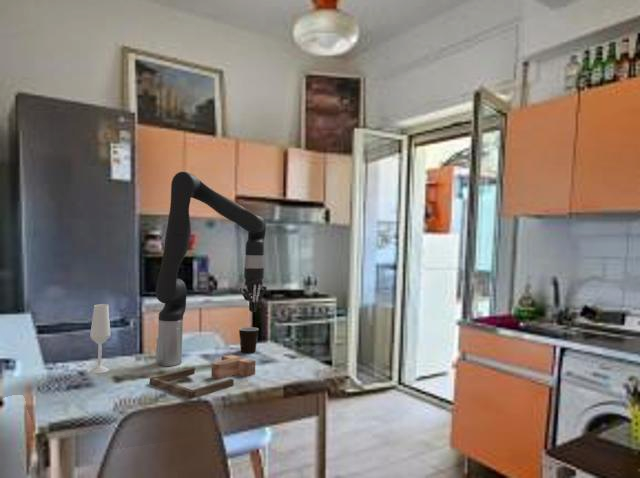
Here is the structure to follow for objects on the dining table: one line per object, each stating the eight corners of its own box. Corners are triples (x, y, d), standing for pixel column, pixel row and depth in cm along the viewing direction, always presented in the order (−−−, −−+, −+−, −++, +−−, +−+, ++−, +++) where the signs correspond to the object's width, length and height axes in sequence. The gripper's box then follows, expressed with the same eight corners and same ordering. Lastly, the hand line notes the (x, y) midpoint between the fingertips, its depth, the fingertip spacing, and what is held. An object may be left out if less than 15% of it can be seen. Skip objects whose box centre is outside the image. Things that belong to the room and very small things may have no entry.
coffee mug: (254, 354, 200) (254, 331, 200) (235, 353, 201) (236, 330, 202) (262, 348, 211) (263, 326, 211) (244, 347, 213) (245, 325, 213)
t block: (202, 374, 169) (202, 360, 169) (229, 367, 179) (229, 354, 179) (228, 382, 161) (229, 367, 161) (255, 374, 171) (255, 360, 171)
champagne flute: (100, 367, 174) (102, 303, 174) (113, 369, 171) (115, 304, 171) (84, 371, 168) (86, 305, 168) (97, 374, 165) (99, 306, 165)
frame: (149, 383, 156) (149, 377, 156) (191, 372, 170) (192, 367, 170) (191, 398, 143) (191, 392, 143) (233, 385, 157) (233, 379, 157)
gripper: (259, 265, 187) (257, 308, 187) (234, 266, 176) (233, 312, 176) (272, 266, 182) (271, 310, 182) (248, 267, 172) (247, 314, 172)
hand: (252, 311), depth 179 cm, fingers closed
